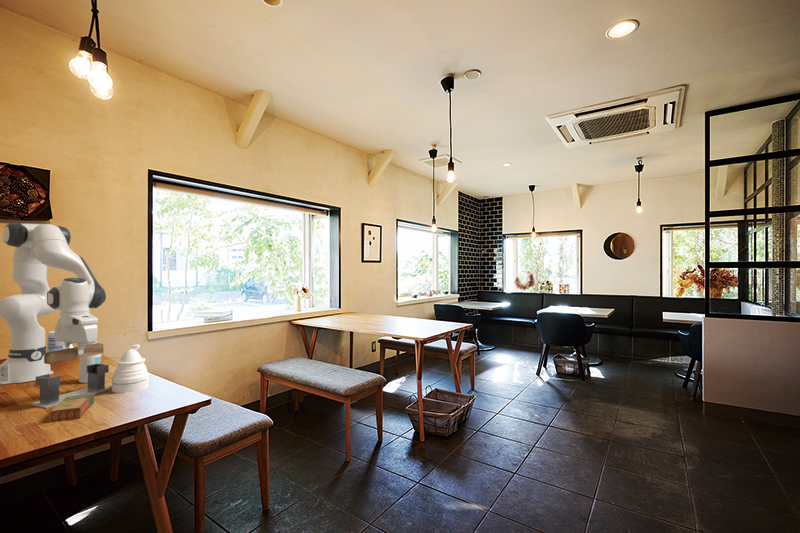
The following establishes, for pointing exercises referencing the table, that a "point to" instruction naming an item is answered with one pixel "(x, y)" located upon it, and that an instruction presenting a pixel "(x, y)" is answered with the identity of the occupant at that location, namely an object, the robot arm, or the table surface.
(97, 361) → the milk bottle
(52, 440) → the table surface
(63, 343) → the supplement tub
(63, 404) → the carton
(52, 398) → the bracket stand
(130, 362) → the honey pot
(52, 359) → the rail
